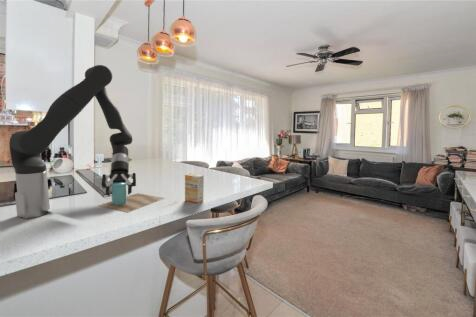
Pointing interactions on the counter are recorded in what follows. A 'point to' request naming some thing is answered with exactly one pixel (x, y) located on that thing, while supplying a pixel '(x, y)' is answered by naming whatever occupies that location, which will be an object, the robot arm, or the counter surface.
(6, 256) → the counter surface
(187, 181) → the supplement box
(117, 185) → the teal cylinder
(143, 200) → the post stand
